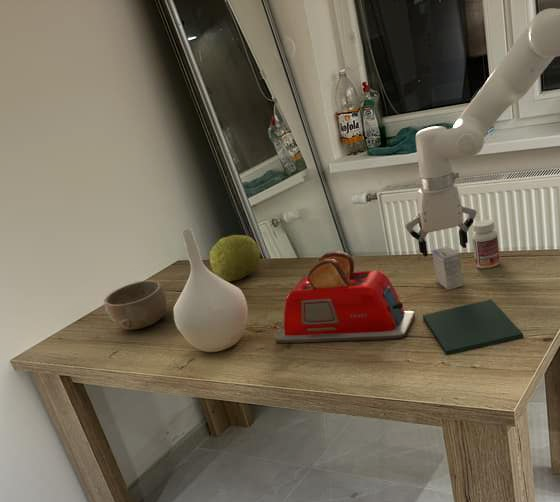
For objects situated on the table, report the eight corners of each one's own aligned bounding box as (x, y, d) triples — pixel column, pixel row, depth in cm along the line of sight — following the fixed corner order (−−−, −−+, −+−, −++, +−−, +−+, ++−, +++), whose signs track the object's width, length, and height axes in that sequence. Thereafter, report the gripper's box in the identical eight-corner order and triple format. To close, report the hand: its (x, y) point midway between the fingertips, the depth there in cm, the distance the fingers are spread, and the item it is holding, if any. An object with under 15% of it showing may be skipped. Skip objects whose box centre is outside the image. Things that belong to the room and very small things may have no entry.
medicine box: (464, 286, 169) (460, 253, 165) (447, 291, 169) (443, 258, 165) (452, 277, 176) (448, 245, 172) (435, 281, 176) (431, 249, 172)
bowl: (137, 340, 187) (125, 307, 183) (102, 332, 200) (90, 300, 195) (184, 313, 198) (173, 281, 193) (148, 307, 210) (137, 277, 205)
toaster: (416, 314, 161) (405, 238, 152) (404, 339, 151) (392, 259, 142) (292, 321, 174) (276, 251, 166) (274, 344, 164) (255, 271, 156)
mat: (491, 303, 157) (490, 299, 157) (523, 337, 139) (523, 333, 139) (423, 318, 158) (422, 315, 157) (446, 355, 140) (445, 351, 140)
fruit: (232, 267, 226) (244, 225, 219) (262, 286, 218) (275, 243, 211) (196, 271, 214) (206, 226, 207) (225, 291, 207) (238, 245, 200)
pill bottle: (504, 262, 176) (501, 220, 171) (486, 270, 175) (482, 228, 170) (488, 258, 182) (484, 217, 177) (470, 266, 180) (466, 224, 175)
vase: (230, 362, 161) (195, 242, 147) (171, 359, 170) (132, 246, 157) (268, 327, 174) (239, 214, 161) (211, 326, 184) (179, 220, 170)
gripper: (468, 171, 164) (473, 239, 172) (397, 187, 165) (406, 253, 172) (477, 177, 157) (483, 247, 165) (404, 193, 158) (413, 262, 166)
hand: (443, 250), depth 169 cm, fingers open, 9 cm apart
